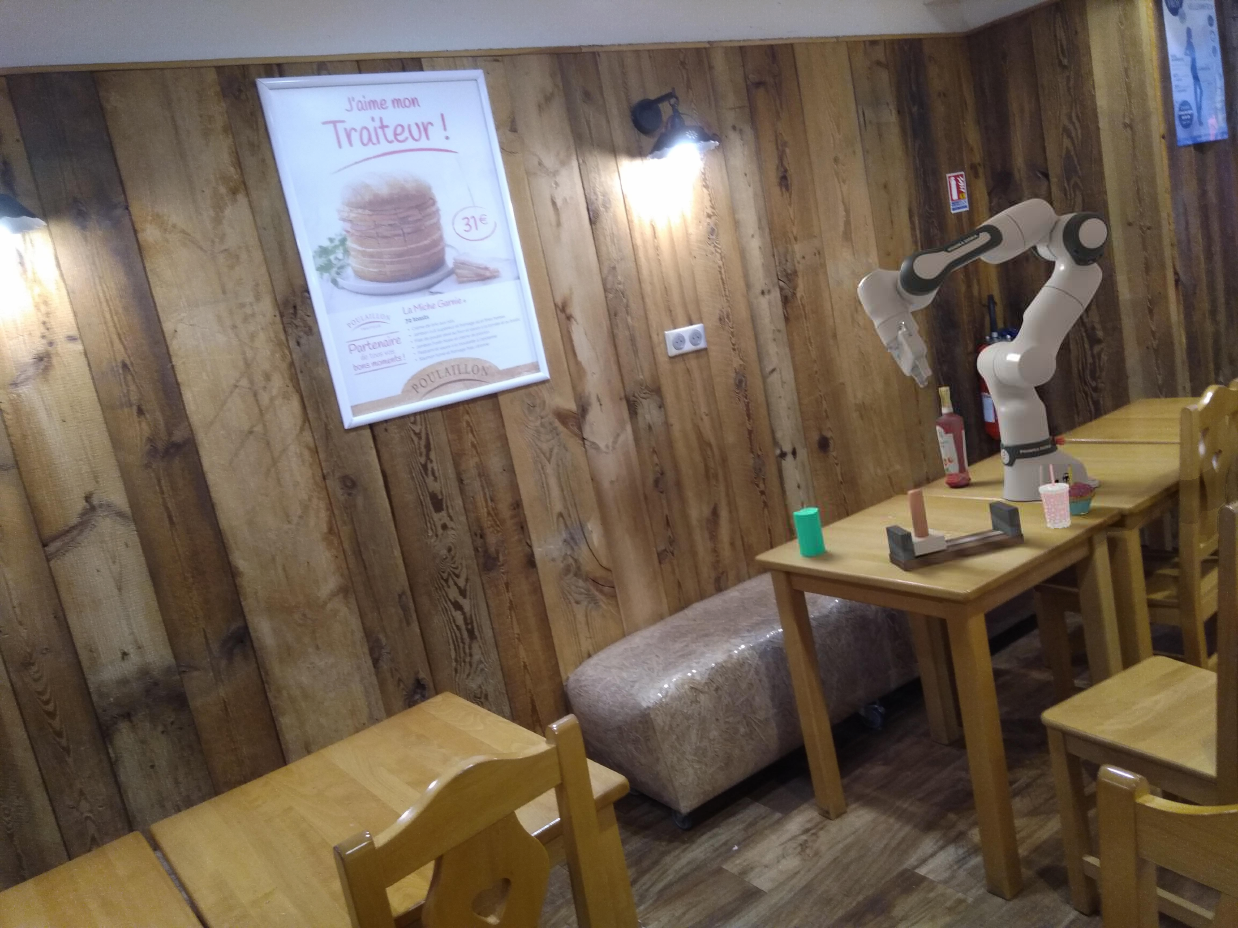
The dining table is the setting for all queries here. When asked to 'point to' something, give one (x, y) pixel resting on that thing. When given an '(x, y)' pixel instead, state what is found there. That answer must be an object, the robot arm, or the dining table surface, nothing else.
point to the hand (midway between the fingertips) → (926, 381)
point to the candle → (809, 532)
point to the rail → (959, 540)
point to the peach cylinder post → (923, 527)
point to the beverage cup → (1056, 503)
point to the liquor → (952, 443)
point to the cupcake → (1079, 495)
